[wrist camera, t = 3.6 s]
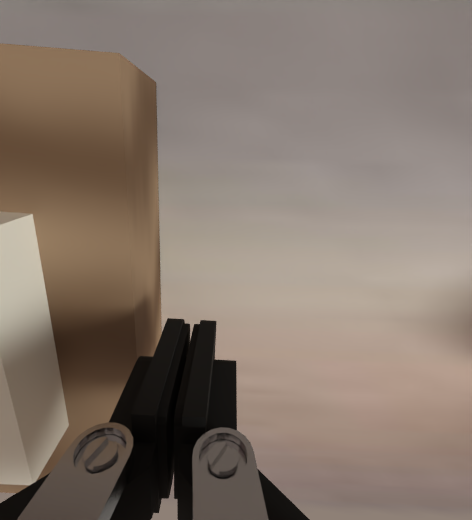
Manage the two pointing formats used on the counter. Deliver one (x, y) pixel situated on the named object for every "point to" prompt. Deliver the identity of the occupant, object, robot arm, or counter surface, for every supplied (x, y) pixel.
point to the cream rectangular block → (26, 358)
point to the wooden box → (86, 214)
